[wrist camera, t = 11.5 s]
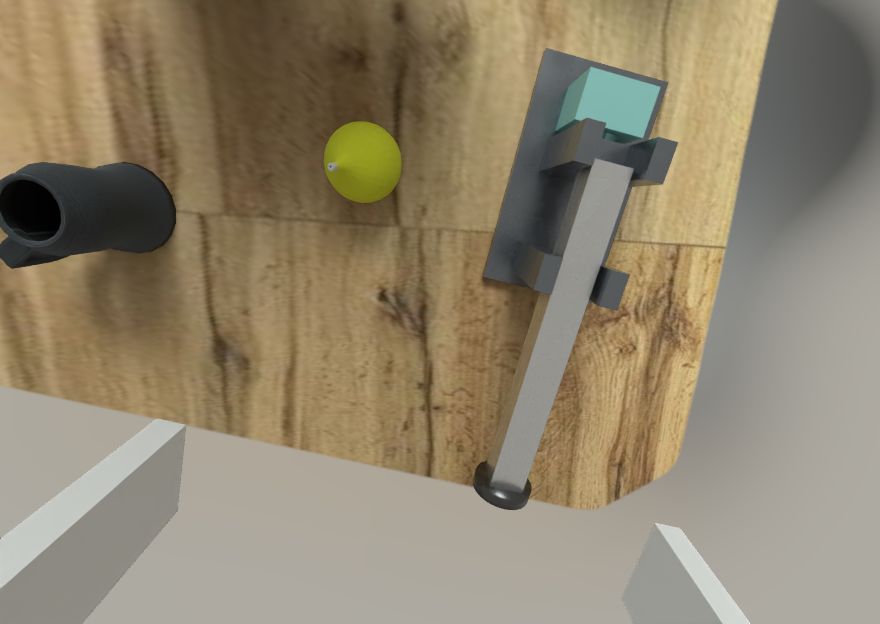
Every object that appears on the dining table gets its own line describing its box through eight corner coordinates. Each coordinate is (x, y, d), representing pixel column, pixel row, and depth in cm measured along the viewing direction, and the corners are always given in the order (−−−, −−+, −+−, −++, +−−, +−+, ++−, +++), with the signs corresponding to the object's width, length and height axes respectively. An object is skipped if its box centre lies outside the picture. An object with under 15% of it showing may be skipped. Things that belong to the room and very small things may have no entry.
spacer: (555, 131, 40) (574, 119, 35) (568, 86, 39) (590, 66, 34) (613, 147, 41) (642, 138, 35) (628, 103, 40) (660, 86, 34)
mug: (130, 143, 41) (21, 122, 31) (194, 219, 43) (113, 226, 33) (48, 214, 43) (-84, 218, 32) (113, 285, 45) (9, 311, 34)
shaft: (470, 465, 44) (475, 503, 38) (562, 159, 36) (584, 152, 31) (521, 476, 44) (533, 515, 39) (624, 176, 36) (656, 171, 31)
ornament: (321, 178, 42) (287, 171, 33) (355, 113, 41) (329, 86, 31) (382, 216, 43) (366, 220, 34) (417, 154, 42) (411, 140, 32)
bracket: (482, 275, 45) (498, 300, 33) (543, 51, 39) (587, -11, 28) (588, 301, 46) (639, 334, 34) (662, 85, 40) (753, 38, 29)
